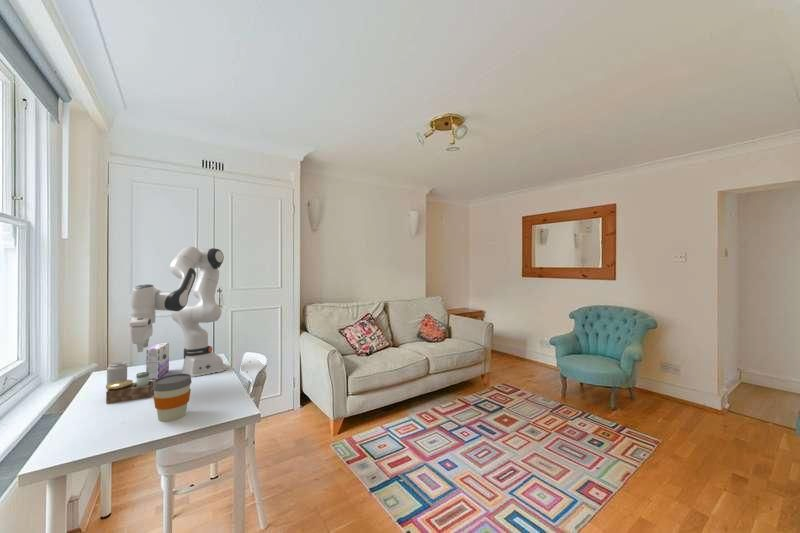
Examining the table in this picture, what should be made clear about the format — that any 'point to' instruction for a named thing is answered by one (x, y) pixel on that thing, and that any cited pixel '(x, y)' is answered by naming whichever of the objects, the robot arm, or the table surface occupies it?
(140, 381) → the cartridge
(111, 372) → the can
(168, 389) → the reusable coffee cup
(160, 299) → the robot arm
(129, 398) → the housing
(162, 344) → the candy box
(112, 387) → the gold rounded dome
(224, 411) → the table surface
